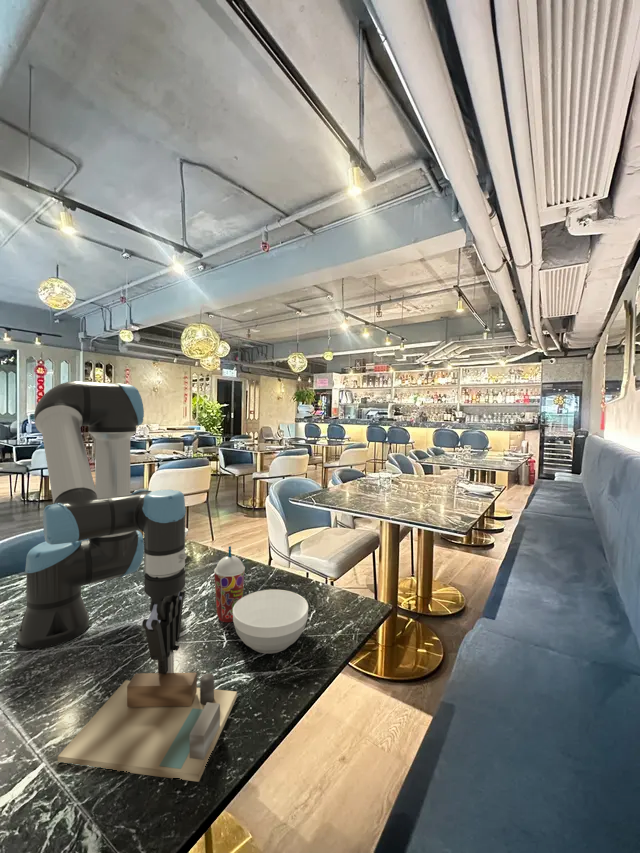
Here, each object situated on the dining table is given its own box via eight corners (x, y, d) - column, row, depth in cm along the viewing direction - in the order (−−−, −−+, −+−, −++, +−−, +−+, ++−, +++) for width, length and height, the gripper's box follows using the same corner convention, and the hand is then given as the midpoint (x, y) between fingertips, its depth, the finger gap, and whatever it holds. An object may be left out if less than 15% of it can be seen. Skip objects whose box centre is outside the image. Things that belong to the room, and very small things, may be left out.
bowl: (316, 657, 92) (317, 620, 91) (235, 671, 86) (235, 632, 86) (298, 616, 110) (298, 585, 109) (229, 625, 104) (230, 593, 104)
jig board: (57, 763, 63) (57, 730, 63) (125, 685, 81) (125, 659, 81) (198, 781, 60) (199, 747, 60) (236, 697, 78) (237, 670, 78)
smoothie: (237, 627, 103) (237, 553, 103) (208, 623, 105) (208, 550, 104) (249, 611, 112) (249, 542, 111) (222, 608, 113) (222, 540, 113)
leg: (196, 692, 77) (196, 672, 77) (191, 705, 74) (191, 685, 74) (135, 693, 77) (135, 673, 77) (127, 706, 73) (127, 686, 73)
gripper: (167, 586, 70) (168, 711, 71) (196, 558, 82) (197, 664, 84) (128, 583, 71) (129, 707, 72) (163, 556, 83) (164, 661, 85)
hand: (166, 684), depth 78 cm, fingers closed
